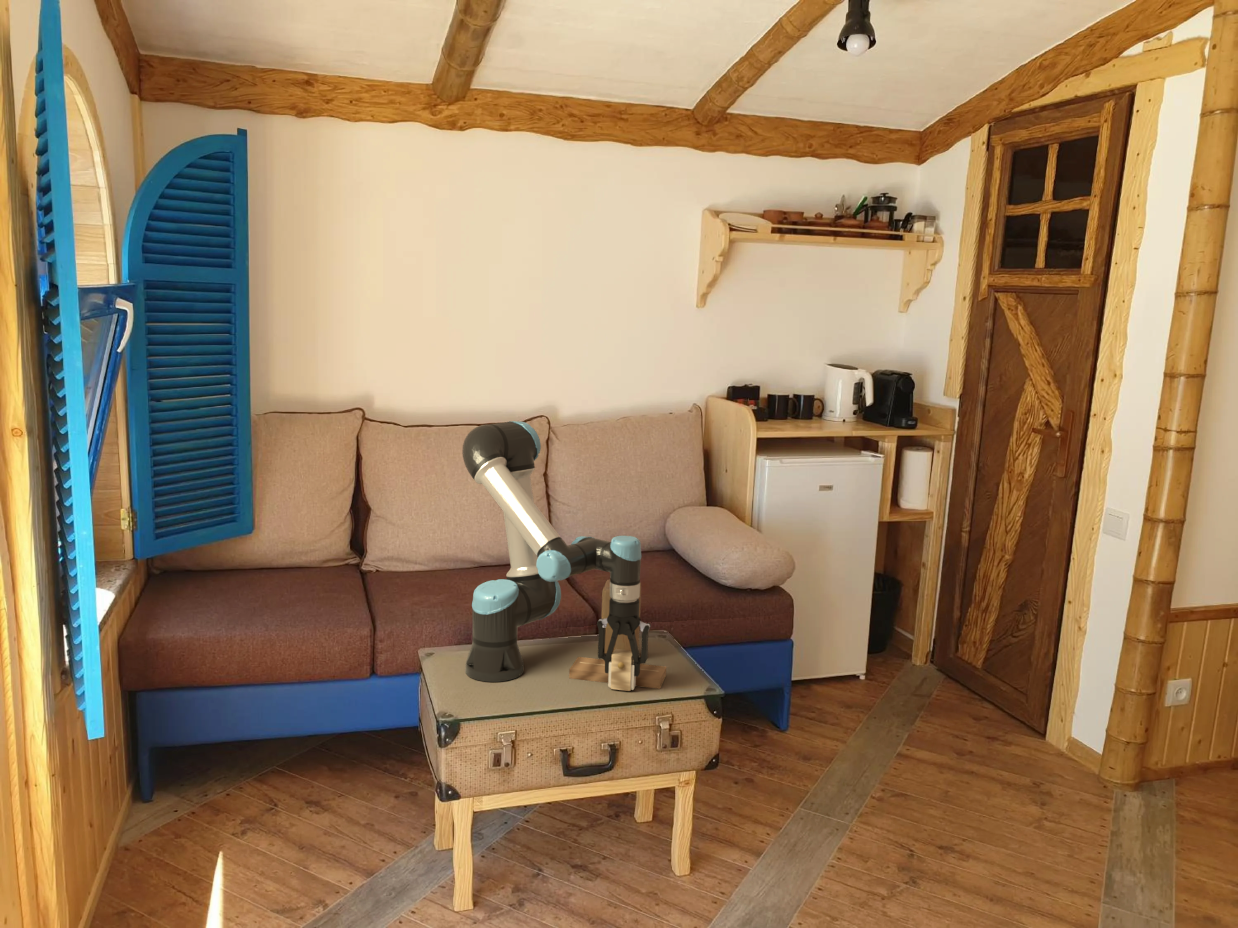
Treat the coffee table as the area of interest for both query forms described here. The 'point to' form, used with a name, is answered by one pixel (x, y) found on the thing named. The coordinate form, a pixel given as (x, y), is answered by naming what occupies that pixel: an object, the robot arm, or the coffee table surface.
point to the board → (596, 672)
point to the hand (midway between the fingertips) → (621, 686)
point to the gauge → (621, 669)
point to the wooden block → (622, 639)
